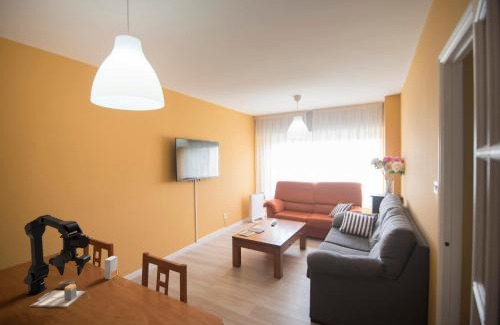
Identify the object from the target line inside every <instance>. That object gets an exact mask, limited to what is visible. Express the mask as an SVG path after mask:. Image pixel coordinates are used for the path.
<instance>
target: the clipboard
mask: <svg viewBox="0 0 500 325" xmlns="http://www.w3.org/2000/svg"><path fill="white" fill-rule="evenodd" d="M64 290H65V289H64ZM64 290H63V289H62V290H61V289H53V290H52V291H50V292H47V293H45V294H43V295H42V296H40V297H39V298H37V299H36V301H34V302H33V303H32V304H30V305H28V307H29V308H52V309H53V308H55V309H56V308H58V309H59V308H60V309H61V308H62V309H68V308H69V307H71V305H73V304H74V303H75V302H77V301H78V300H79V299H80V298H81V297H83V296H84V295H85V294H87V293H88V291H89V290H77V296H76V297H75V298H74V299H72V300H65V299H64Z"/></svg>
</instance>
